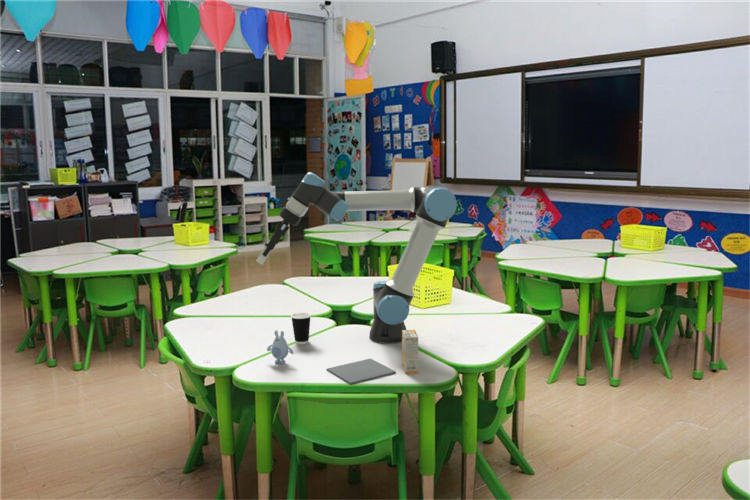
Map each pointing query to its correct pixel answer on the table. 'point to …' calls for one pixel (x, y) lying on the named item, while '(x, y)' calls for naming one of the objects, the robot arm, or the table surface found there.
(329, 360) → the table surface
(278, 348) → the toy figure
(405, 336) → the supplement box
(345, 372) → the mat
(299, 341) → the dixie cup
